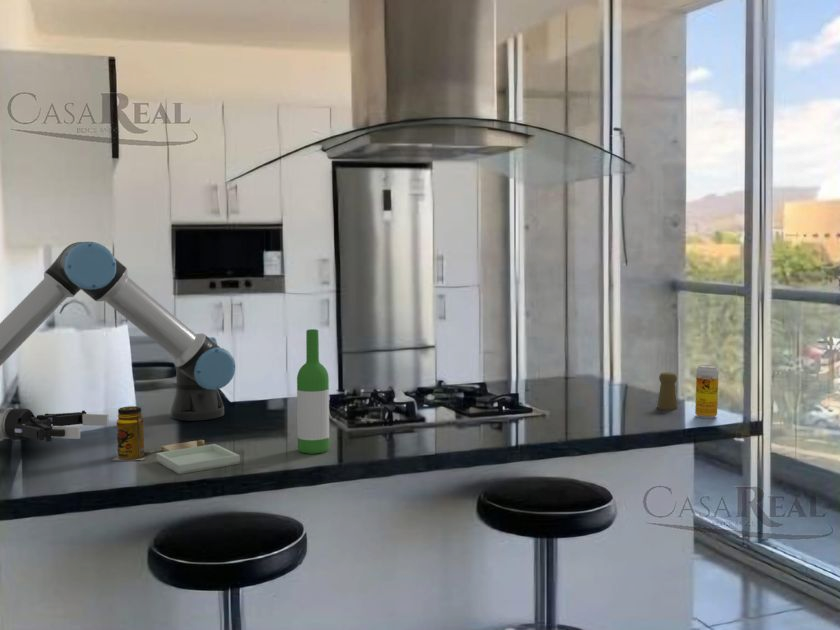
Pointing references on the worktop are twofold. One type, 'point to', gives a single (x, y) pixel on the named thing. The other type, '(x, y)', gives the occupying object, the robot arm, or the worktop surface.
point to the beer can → (706, 391)
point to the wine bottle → (312, 400)
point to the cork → (667, 391)
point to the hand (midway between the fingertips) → (94, 426)
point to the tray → (197, 458)
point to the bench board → (182, 445)
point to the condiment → (130, 434)
